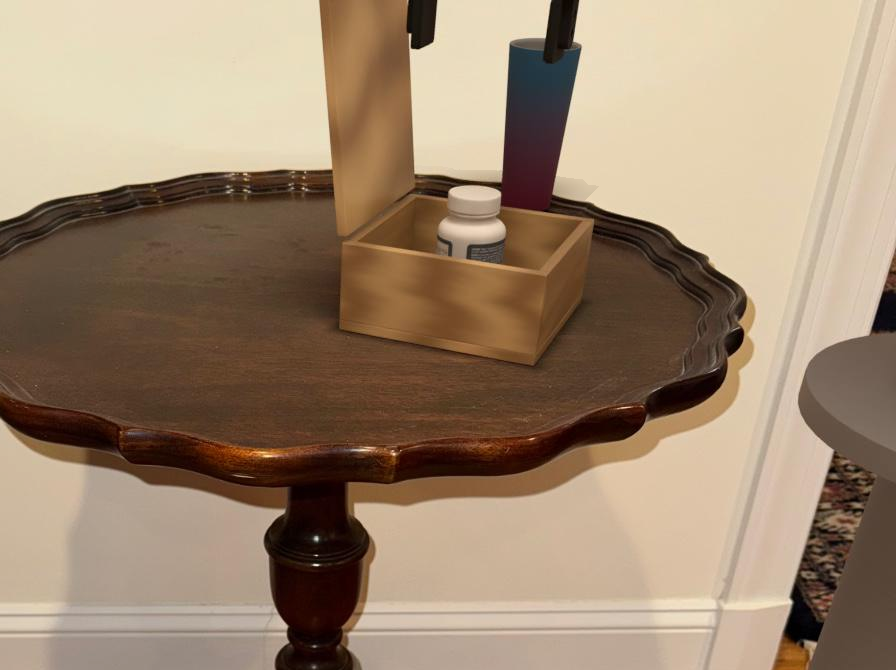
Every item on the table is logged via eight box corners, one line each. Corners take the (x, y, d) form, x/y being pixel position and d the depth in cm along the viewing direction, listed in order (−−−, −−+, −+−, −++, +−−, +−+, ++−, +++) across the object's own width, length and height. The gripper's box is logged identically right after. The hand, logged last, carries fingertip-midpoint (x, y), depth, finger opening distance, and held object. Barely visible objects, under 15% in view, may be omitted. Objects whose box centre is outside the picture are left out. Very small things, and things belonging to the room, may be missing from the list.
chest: (581, 301, 93) (594, 218, 89) (533, 366, 83) (546, 275, 79) (405, 272, 99) (410, 193, 95) (338, 329, 88) (341, 242, 84)
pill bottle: (506, 301, 91) (520, 188, 86) (485, 322, 87) (498, 206, 82) (445, 289, 93) (455, 179, 88) (421, 310, 89) (430, 195, 84)
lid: (406, -36, 85) (396, -35, 86) (328, -13, 75) (317, -12, 75) (415, 187, 94) (406, 187, 95) (346, 236, 83) (337, 236, 84)
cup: (486, 210, 114) (503, 47, 105) (498, 192, 119) (515, 35, 110) (553, 217, 112) (577, 52, 103) (562, 199, 117) (586, 40, 109)
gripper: (672, -246, 69) (619, 57, 79) (409, -249, 75) (391, 33, 85) (648, -251, 64) (595, 76, 74) (366, -254, 70) (352, 49, 80)
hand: (486, 53), depth 79 cm, fingers open, 9 cm apart
